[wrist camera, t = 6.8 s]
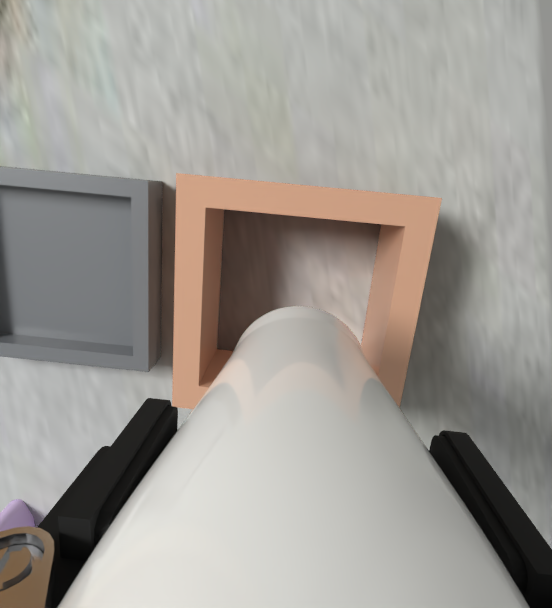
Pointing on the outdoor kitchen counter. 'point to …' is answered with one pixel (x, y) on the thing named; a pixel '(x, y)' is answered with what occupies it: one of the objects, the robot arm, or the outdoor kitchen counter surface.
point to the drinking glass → (295, 495)
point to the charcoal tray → (80, 268)
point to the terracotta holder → (306, 203)
